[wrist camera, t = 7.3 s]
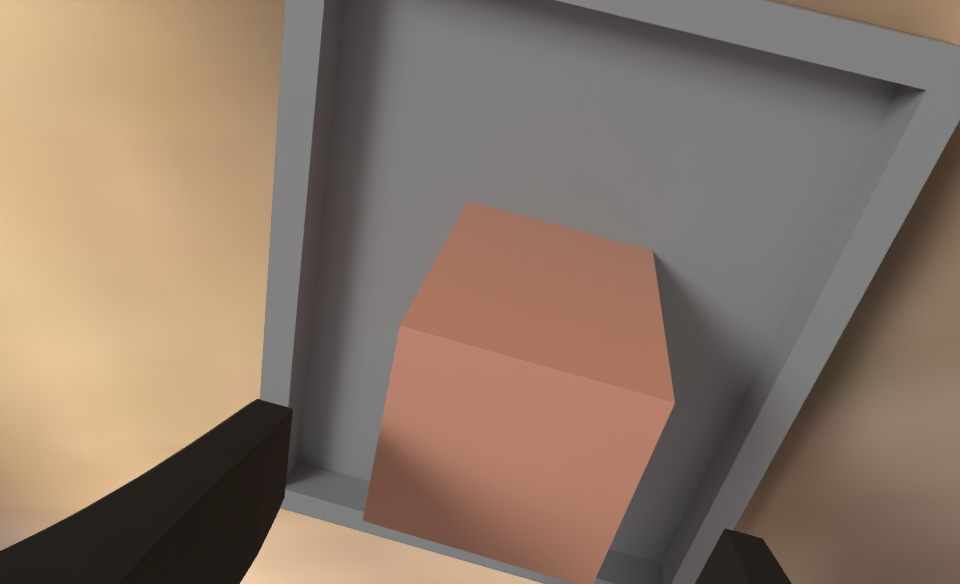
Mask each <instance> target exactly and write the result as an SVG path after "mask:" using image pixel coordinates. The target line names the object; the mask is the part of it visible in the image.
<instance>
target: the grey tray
mask: <svg viewBox="0 0 960 584" xmlns="http://www.w3.org/2000/svg"><path fill="white" fill-rule="evenodd" d="M959 121H960V45H956V44H953V43H949V42H945V41H941V40H937V39H932V38H928V37H924V36H920V35H916V34H911V33H907V32H903V31H899V30H895V29H890V28H886V27H882V26H878V25H874V24H870V23H865V22H861V21H857V20H853V19H849V18H844V17H840V16H836V15H832V14H828V13H823V12H819V11H815V10H811V9H807V8H802V7H798V6H794V5H790V4H786V3H782V2H777V1H773V0H285V11H284V26H283V42H282V58H281V74H280V90H279V106H278V122H277V138H276V154H275V169H274V185H273V201H272V217H271V233H270V249H269V265H268V281H267V296H266V312H265V328H264V344H263V360H262V376H261V392H260V400H264V401H267V402H271V403H274V404H278V405H282V406H285V407H289V408H293V414H292V424H291V435H290V445H289V456H288V466H287V477H286V488H285V498H284V500H283V502H282V505H281V507H280V508H282V509H285V510H289V511H292V512H296V513H299V514H303V515H306V516H310V517H313V518H317V519H320V520H324V521H327V522H331V523H334V524H338V525H341V526H345V527H348V528H352V529H355V530H359V531H362V532H366V533H369V534H373V535H376V536H380V537H383V538H387V539H390V540H394V541H397V542H401V543H404V544H408V545H411V546H415V547H418V548H422V549H425V550H429V551H432V552H436V553H439V554H442V555H446V556H449V557H453V558H456V559H460V560H463V561H467V562H470V563H474V564H477V565H481V566H484V567H488V568H491V569H495V570H498V571H502V572H505V573H509V574H512V575H516V576H519V577H523V578H526V579H530V580H533V581H537V582H540V583H544V584H575V583H572V582H568V581H565V580H561V579H558V578H555V577H551V576H548V575H544V574H541V573H538V572H534V571H531V570H528V569H524V568H521V567H517V566H514V565H511V564H507V563H504V562H500V561H497V560H494V559H490V558H487V557H483V556H480V555H477V554H473V553H470V552H466V551H463V550H460V549H456V548H453V547H450V546H446V545H443V544H439V543H436V542H433V541H429V540H426V539H422V538H419V537H416V536H412V535H409V534H405V533H402V532H399V531H395V530H392V529H388V528H385V527H382V526H378V525H375V524H371V523H368V522H365V521H363V516H364V510H365V505H366V500H367V495H368V490H369V484H370V479H371V474H372V469H373V463H374V458H375V453H376V448H377V443H378V437H379V432H380V427H381V422H382V416H383V411H384V406H385V401H386V396H387V390H388V385H389V380H390V375H391V369H392V364H393V359H394V354H395V348H396V343H397V338H398V333H399V328H400V324H401V323H402V321H403V319H404V317H405V315H406V313H407V312H408V310H409V308H410V306H411V304H412V302H413V301H414V299H415V297H416V295H417V293H418V291H419V289H420V288H421V286H422V284H423V282H424V280H425V278H426V277H427V275H428V273H429V271H430V269H431V267H432V266H433V264H434V262H435V260H436V258H437V256H438V254H439V253H440V251H441V249H442V247H443V245H444V243H445V242H446V240H447V238H448V236H449V234H450V232H451V231H452V229H453V227H454V225H455V223H456V221H457V219H458V218H459V216H460V214H461V212H462V210H463V208H464V207H465V205H466V203H467V201H471V202H475V203H478V204H482V205H486V206H489V207H493V208H497V209H500V210H504V211H508V212H511V213H515V214H519V215H523V216H526V217H530V218H534V219H537V220H541V221H545V222H548V223H552V224H556V225H559V226H563V227H567V228H570V229H574V230H578V231H581V232H585V233H589V234H593V235H596V236H600V237H604V238H607V239H611V240H615V241H618V242H622V243H626V244H629V245H633V246H637V247H640V248H644V249H648V250H651V251H653V255H654V262H655V269H656V276H657V283H658V290H659V297H660V303H661V310H662V317H663V324H664V331H665V338H666V345H667V351H668V358H669V365H670V372H671V379H672V386H673V393H674V399H675V404H674V406H673V408H672V411H671V413H670V415H669V417H668V420H667V422H666V424H665V426H664V428H663V431H662V433H661V435H660V437H659V439H658V442H657V444H656V446H655V448H654V450H653V453H652V455H651V457H650V459H649V461H648V464H647V466H646V468H645V470H644V472H643V475H642V477H641V479H640V481H639V483H638V486H637V488H636V490H635V492H634V495H633V497H632V499H631V501H630V503H629V506H628V508H627V510H626V512H625V514H624V517H623V519H622V521H621V523H620V525H619V528H618V530H617V532H616V534H615V536H614V539H613V541H612V543H611V545H610V547H609V550H608V552H607V554H606V556H605V558H604V561H603V563H602V565H601V567H600V570H599V572H598V574H597V576H596V578H595V581H594V583H593V584H695V582H696V580H697V579H698V577H699V575H700V573H701V571H702V569H703V567H704V566H705V564H706V562H707V560H708V558H709V556H710V555H711V553H712V551H713V549H714V547H715V545H716V543H717V542H718V540H719V538H720V536H721V534H722V532H723V530H724V529H725V528H726V529H729V530H734V528H735V526H736V525H737V523H738V521H739V519H740V517H741V516H742V514H743V512H744V510H745V508H746V507H747V505H748V503H749V501H750V499H751V497H752V496H753V494H754V492H755V490H756V488H757V487H758V485H759V483H760V481H761V479H762V478H763V476H764V474H765V472H766V470H767V468H768V467H769V465H770V463H771V461H772V459H773V458H774V456H775V454H776V452H777V450H778V449H779V447H780V445H781V443H782V441H783V439H784V438H785V436H786V434H787V432H788V430H789V429H790V427H791V425H792V423H793V421H794V420H795V418H796V416H797V414H798V412H799V410H800V409H801V407H802V405H803V403H804V401H805V400H806V398H807V396H808V394H809V392H810V391H811V389H812V387H813V385H814V383H815V382H816V380H817V378H818V376H819V374H820V372H821V371H822V369H823V367H824V365H825V363H826V362H827V360H828V358H829V356H830V354H831V353H832V351H833V349H834V347H835V345H836V343H837V342H838V340H839V338H840V336H841V334H842V333H843V331H844V329H845V327H846V325H847V324H848V322H849V320H850V318H851V316H852V314H853V313H854V311H855V309H856V307H857V305H858V304H859V302H860V300H861V298H862V296H863V295H864V293H865V291H866V289H867V287H868V285H869V284H870V282H871V280H872V278H873V276H874V275H875V273H876V271H877V269H878V267H879V266H880V264H881V262H882V260H883V258H884V256H885V255H886V253H887V251H888V249H889V247H890V246H891V244H892V242H893V240H894V238H895V237H896V235H897V233H898V231H899V229H900V227H901V226H902V224H903V222H904V220H905V218H906V217H907V215H908V213H909V211H910V209H911V208H912V206H913V204H914V202H915V200H916V198H917V197H918V195H919V193H920V191H921V189H922V188H923V186H924V184H925V182H926V180H927V179H928V177H929V175H930V173H931V171H932V169H933V168H934V166H935V164H936V162H937V160H938V159H939V157H940V155H941V153H942V151H943V150H944V148H945V146H946V144H947V142H948V140H949V139H950V137H951V135H952V133H953V131H954V130H955V128H956V126H957V124H958V122H959Z"/></svg>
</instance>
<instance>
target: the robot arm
mask: <svg viewBox="0 0 960 584" xmlns="http://www.w3.org/2000/svg"><path fill="white" fill-rule="evenodd" d="M292 414H293V408H289V407H285V406H282V405H278V404H274V403H271V402H267V401H264V400H260V399H257V400H255V401H253V402H251V403H250V404H248V405H247V406H245V407H244V408H242V409H241V410H239V411H238V412H236V413H235V414H234V415H232V416H231V417H229V418H228V419H226V420H225V421H223V422H222V423H220V424H219V425H218V426H216V427H215V428H213V429H212V430H210V431H209V432H207V433H206V434H204V435H203V436H201V437H200V438H198V439H197V440H195V441H194V442H192V443H191V444H189V445H188V446H186V447H185V448H183V449H182V450H180V451H179V452H177V453H175V454H174V455H172V456H171V457H169V458H168V459H166V460H165V461H163V462H161V463H160V464H158V465H157V466H155V467H154V468H152V469H150V470H149V471H147V472H146V473H144V474H142V475H141V476H139V477H138V478H136V479H134V480H133V481H131V482H129V483H127V484H126V485H124V486H122V487H120V488H119V489H117V490H115V491H114V492H112V493H110V494H108V495H107V496H105V497H103V498H101V499H100V500H98V501H96V502H95V503H93V504H91V505H89V506H88V507H86V508H84V509H82V510H80V511H79V512H77V513H75V514H73V515H71V516H69V517H67V518H65V519H64V520H62V521H60V522H58V523H56V524H54V525H52V526H50V527H48V528H46V529H44V530H42V531H40V532H38V533H36V534H34V535H32V536H30V537H28V538H26V539H24V540H22V541H20V542H18V543H16V544H14V545H12V546H10V547H8V548H6V549H3V550H1V551H0V584H240V582H241V581H242V579H243V577H244V576H245V574H246V573H247V571H248V569H249V568H250V566H251V565H252V563H253V561H254V560H255V558H256V556H257V555H258V553H259V551H260V549H261V547H262V545H263V543H264V540H265V538H266V536H267V534H268V532H269V530H270V528H271V526H272V524H273V522H274V520H275V517H276V515H277V513H278V511H279V509H280V507H281V505H282V502H283V500H284V498H285V488H286V477H287V466H288V456H289V445H290V435H291V424H292ZM695 584H791V582H790V581H789V579H788V577H787V576H786V574H785V573H784V571H783V569H782V568H781V566H780V565H779V563H778V562H777V560H776V558H775V557H774V555H773V554H772V552H771V551H770V549H769V548H768V546H767V545H766V543H765V542H764V540H763V539H762V538H758V537H755V536H751V535H747V534H744V533H740V532H737V531H733V530H729V529H726V528H725V529H724V530H723V532H722V534H721V536H720V538H719V540H718V542H717V543H716V545H715V547H714V549H713V551H712V553H711V555H710V556H709V558H708V560H707V562H706V564H705V566H704V567H703V569H702V571H701V573H700V575H699V577H698V579H697V580H696V582H695Z"/></svg>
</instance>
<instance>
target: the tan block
mask: <svg viewBox="0 0 960 584" xmlns="http://www.w3.org/2000/svg"><path fill="white" fill-rule="evenodd" d="M674 404H675V399H674V393H673V386H672V379H671V372H670V365H669V358H668V351H667V345H666V338H665V331H664V324H663V317H662V310H661V303H660V297H659V290H658V283H657V276H656V269H655V262H654V255H653V251H651V250H648V249H644V248H640V247H637V246H633V245H629V244H626V243H622V242H618V241H615V240H611V239H607V238H604V237H600V236H596V235H593V234H589V233H585V232H581V231H578V230H574V229H570V228H567V227H563V226H559V225H556V224H552V223H548V222H545V221H541V220H537V219H534V218H530V217H526V216H523V215H519V214H515V213H511V212H508V211H504V210H500V209H497V208H493V207H489V206H486V205H482V204H478V203H475V202H471V201H467V203H466V205H465V207H464V208H463V210H462V212H461V214H460V216H459V218H458V219H457V221H456V223H455V225H454V227H453V229H452V231H451V232H450V234H449V236H448V238H447V240H446V242H445V243H444V245H443V247H442V249H441V251H440V253H439V254H438V256H437V258H436V260H435V262H434V264H433V266H432V267H431V269H430V271H429V273H428V275H427V277H426V278H425V280H424V282H423V284H422V286H421V288H420V289H419V291H418V293H417V295H416V297H415V299H414V301H413V302H412V304H411V306H410V308H409V310H408V312H407V313H406V315H405V317H404V319H403V321H402V323H401V324H400V328H399V333H398V338H397V343H396V348H395V354H394V359H393V364H392V369H391V375H390V380H389V385H388V390H387V396H386V401H385V406H384V411H383V416H382V422H381V427H380V432H379V437H378V443H377V448H376V453H375V458H374V463H373V469H372V474H371V479H370V484H369V490H368V495H367V500H366V505H365V510H364V516H363V521H365V522H368V523H371V524H375V525H378V526H382V527H385V528H388V529H392V530H395V531H399V532H402V533H405V534H409V535H412V536H416V537H419V538H422V539H426V540H429V541H433V542H436V543H439V544H443V545H446V546H450V547H453V548H456V549H460V550H463V551H466V552H470V553H473V554H477V555H480V556H483V557H487V558H490V559H494V560H497V561H500V562H504V563H507V564H511V565H514V566H517V567H521V568H524V569H528V570H531V571H534V572H538V573H541V574H544V575H548V576H551V577H555V578H558V579H561V580H565V581H568V582H572V583H575V584H593V583H594V581H595V578H596V576H597V574H598V572H599V570H600V567H601V565H602V563H603V561H604V558H605V556H606V554H607V552H608V550H609V547H610V545H611V543H612V541H613V539H614V536H615V534H616V532H617V530H618V528H619V525H620V523H621V521H622V519H623V517H624V514H625V512H626V510H627V508H628V506H629V503H630V501H631V499H632V497H633V495H634V492H635V490H636V488H637V486H638V483H639V481H640V479H641V477H642V475H643V472H644V470H645V468H646V466H647V464H648V461H649V459H650V457H651V455H652V453H653V450H654V448H655V446H656V444H657V442H658V439H659V437H660V435H661V433H662V431H663V428H664V426H665V424H666V422H667V420H668V417H669V415H670V413H671V411H672V408H673V406H674Z"/></svg>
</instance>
